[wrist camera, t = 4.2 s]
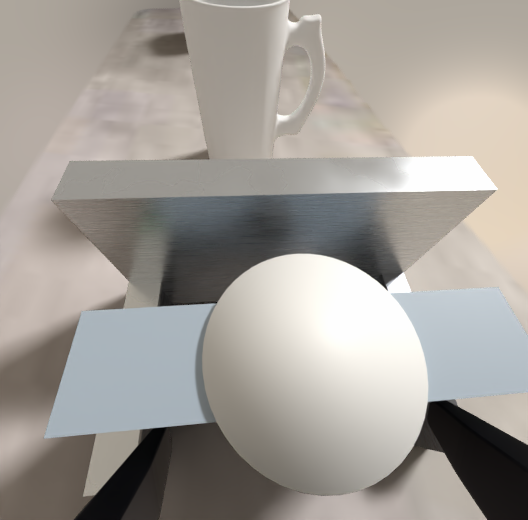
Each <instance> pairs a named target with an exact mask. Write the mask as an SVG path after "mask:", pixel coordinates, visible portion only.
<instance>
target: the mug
mask: <svg viewBox="0 0 528 520" xmlns="http://www.w3.org/2000/svg"><path fill="white" fill-rule="evenodd" d="M179 2H180V8H181V14H182V20H183V26H184V32H185V38H186V43H187V48H188V53H189V58H190V63H191V69H192V74H193V79H194V84H195V89H196V94H197V99H198V105H199V110H200V115H201V120H202V126H203V131H204V136H205V141H206V145H207V150H208V155H209V159H272V156H273V147H274V142H275V140H276V139H277V138H278V137H280V136H284V135H297V134H298V133H299V132H300V130H301V128H302V126H303V125H304V123H305V121H306V119H307V118H308V116H309V114H310V112H311V111H312V109H313V107H314V105H315V103H316V101H317V99H318V97H319V94H320V92H321V88H322V85H323V81H324V75H325V52H324V45H323V40H322V33H321V16H320V15H319V14H315V15H311V16H307V15H305V16H302V18H301V19H300V20H299V21H298V22H296V23H293V22H290V21H289V20H288V11H289V2H290V0H179ZM292 46H300V47H303V48H304V49H305V50H306V51H307V53H308V55H309V59H310V63H311V77H310V82H309V86H308V89H307V92H306V95H305V97H304V99H303V101H302V103H301V104H300V106H299V107H298V108H297V109H296V110H295V111H294V112H293V113H292V114H290V115H287V116H282V115H278V113H277V112H278V102H279V93H280V84H281V76H282V67H283V60H284V55H285V52H286V51H287V49H288V48H290V47H292Z"/></svg>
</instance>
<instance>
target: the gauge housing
mask: <svg viewBox="0 0 528 520" xmlns="http://www.w3.org/2000/svg"><path fill="white" fill-rule="evenodd" d="M496 190H497V188H496V187H495V186H494V184H493V183H492V182H491V181H490V179H489V178H488V177H487V175H486V174H485V173H484V171H483V170H482V169H481V168H480V166H479V165H478V164H477V162H476V161H475V160H474V158H473V157H472V156H459V157H458V156H454V157H371V158H289V159H206V160H124V161H70V162H69V164H68V166H67V168H66V170H65V172H64V174H63V176H62V179H61V181H60V183H59V185H58V187H57V189H56V191H55V193H54V195H53V197H52V201H53V202H54V203H55V205H56V206H57V207H58V208H59V209H60V210H61V211H62V212H63V213H64V214H65V215H66V216H67V217H68V218H69V219H70V220H71V221H72V222H73V223H74V224H75V225H76V226H77V228H78V229H79V230H80V231H81V232H82V233H83V234H84V235H85V236H86V237H87V238H88V239H89V240H90V241H91V242H92V243H93V244H94V245H95V246H96V247H97V248H98V249H99V250H100V252H101V253H102V254H103V255H104V256H105V257H106V258H107V259H108V260H109V261H110V262H111V263H112V264H113V265H114V266H115V267H116V268H117V269H118V270H119V271H120V272H121V273H122V274H123V276H124V277H125V278H126V279H127V280H128V281H129V284H128V289H127V293H126V298H125V303H124V307H123V309H128V308H145V307H162V306H173V304H178V303H196V302H213V301H219V299H220V298H221V296H222V295H223V293H224V292H225V291H226V289H227V288H228V287H229V286H230V285H231V284H232V283H233V282H234V281H235V280H236V279H237V278H238V277H239V276H241V275H242V274H243V273H244V272H246V271H247V270H249V269H250V268H252V267H253V266H255V265H257V264H259V263H261V262H263V261H266V260H269V259H272V258H275V257H279V256H283V255H290V254H315V255H323V256H327V257H331V258H335V259H338V260H340V261H343V262H346V263H348V264H350V265H352V266H354V267H356V268H358V269H360V270H361V271H363V272H365V273H366V274H368V275H369V276H371V277H372V278H373V279H375V280H376V281H377V282H379V283H380V284H381V285H382V286H383V287H384V288H385V289H386V290H387V291H388V292H389V293H404V292H411V290H410V288H409V286H408V283H407V281H406V278H405V276H404V272H405V271H406V270H407V269H408V268H409V267H410V266H412V265H413V264H414V263H415V262H416V261H417V260H418V259H419V258H421V257H422V256H423V255H424V254H425V253H426V252H427V251H429V250H430V249H431V248H432V247H433V246H434V245H435V244H436V243H438V242H439V241H440V240H441V239H442V238H443V237H444V236H445V235H447V234H448V233H449V232H450V231H451V230H452V229H453V228H454V227H456V226H457V225H458V224H459V223H460V222H461V221H462V220H464V219H465V218H466V217H467V216H468V215H469V214H470V213H471V212H472V211H474V210H475V209H476V208H477V207H478V206H479V205H480V204H482V203H483V202H484V201H485V200H486V199H487V198H488V197H489V196H491V195H492V194H493V193H494V192H495V191H496ZM447 401H449V402H451V403H452V404H454V405H456V406H458V405H457V403H456V400H455V399H452V400H447ZM428 407H429V402H428V403H427V409H426V414H425V419H424V422H423V425H422V428H421V431H420V434H419V436H418V438H417V440H416V442H415V444H414V446H417V447H422V448H426V449H430V450H435V451H439V452H443V453H444V451H443V449H442V448H441V446H440V444H439V442H438V441H437V439H436V437H435V435H434V434H433V432H432V430H431V428H430V427H429V425H428V422H427V413H428ZM152 429H153V428H149V429H139V430H128V431H118V432H107V433H97V434H96V437H95V442H94V447H93V451H92V456H91V461H90V465H89V470H88V474H87V479H86V484H85V488H84V493H83V497H84V496H92V495H96V493H97V492H98V491H99V490H100V489H101V488H102V487H103V485H104V484H105V483H106V482H107V481H108V480H109V478H110V477H111V476H112V475H113V474H114V473H115V471H116V470H117V469H118V468H119V467H120V466H121V464H122V463H123V462H124V461H125V460H126V459H127V458H128V456H129V455H130V454H131V453H132V452H133V451H134V449H135V448H136V447H137V446H138V445H139V444H140V442H141V441H142V440H143V439H144V438H145V437H146V436H147V434H148V433H149V432H150V431H151V430H152Z"/></svg>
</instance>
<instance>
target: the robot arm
mask: <svg viewBox="0 0 528 520" xmlns="http://www.w3.org/2000/svg"><path fill="white" fill-rule="evenodd" d="M427 422H428V425H429V427H430V428H431V430H432V432H433V434H434V435H435V437H436V439H437V441H438V442H439V444H440V446H441V448H442V449H443V451H444V453H445V455H446V456H447V458H448V460H449V462H450V463H451V465H452V467H453V469H454V470H455V472H456V474H457V475H458V477H459V478H460V480H461V481H462V483H463V484H464V486H465V487H466V489H467V490H468V492H469V493H470V495H471V496H472V498H473V499H474V501H475V502H476V504H477V505H478V507H479V508H480V510H481V511H482V513H483V514H484V516H485V517H486V519H487V520H528V445H527V444H525V443H523V442H521V441H519V440H518V439H516V438H514V437H512V436H510V435H509V434H507V433H505V432H503V431H501V430H499V429H498V428H496V427H494V426H492V425H490V424H489V423H487V422H485V421H483V420H481V419H480V418H478V417H476V416H474V415H472V414H471V413H469V412H467V411H465V410H463V409H461V408H460V407H458V406H456V405H454V404H452V403H451V402H449V401H447V400H441V401H431V402H429V407H428V413H427ZM171 451H172V442H171V435H170V429H169V427H160V428H153V429H152V430H151V431H150V432H149V433H148V434H147V436H146V437H145V438H144V439H143V440H142V441H141V442H140V444H139V445H138V446H137V447H136V448H135V449H134V451H133V452H132V453H131V454H130V455H129V456H128V458H127V459H126V460H125V461H124V462H123V463H122V464H121V466H120V467H119V468H118V469H117V470H116V471H115V473H114V474H113V475H112V476H111V477H110V478H109V480H108V481H107V482H106V483H105V484H104V485H103V487H102V488H101V489H100V490H99V491H98V492H97V493H96V495H95V496H94V497H93V498H92V499H91V500H90V502H89V503H88V504H87V505H86V506H85V507H84V509H83V510H82V511H81V512H80V513H79V514H78V515H77V517H76V518H75V519H74V520H159V516H160V512H161V506H162V501H163V496H164V490H165V485H166V479H167V473H168V468H169V462H170V457H171Z"/></svg>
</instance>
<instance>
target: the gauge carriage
mask: <svg viewBox="0 0 528 520" xmlns="http://www.w3.org/2000/svg"><path fill="white" fill-rule="evenodd" d="M525 392H528V335H527V334H526V332H525V330H524V329H523V327H522V325H521V324H520V322H519V320H518V319H517V317H516V315H515V314H514V312H513V310H512V309H511V307H510V306H509V304H508V302H507V301H506V299H505V297H504V296H503V294H502V292H501V291H500V289H499V287H490V288H472V289H455V290H438V291H421V292H404V293H389V292H388V291H387V290H386V289H385V288H384V287H383V286H382V285H381V284H380V283H379V282H377V281H376V280H375V279H373V278H372V277H371V276H369V275H368V274H366V273H365V272H363V271H361V270H360V269H358V268H356V267H354V266H352V265H350V264H348V263H346V262H343V261H340V260H338V259H335V258H331V257H327V256H323V255H315V254H290V255H283V256H279V257H275V258H272V259H269V260H266V261H263V262H261V263H259V264H257V265H255V266H253V267H252V268H250V269H249V270H247V271H246V272H244V273H243V274H242V275H241V276H239V277H238V278H237V279H236V280H235V281H234V282H233V283H232V284H231V285H230V286H229V287H228V288H227V289H226V291H225V292H224V293H223V295H222V296H221V298H220V299H219V301H218V302H217V303H214V304H197V305H179V306H162V307H145V308H128V309H110V310H93V311H82V313H81V316H80V319H79V323H78V326H77V329H76V333H75V336H74V339H73V343H72V346H71V349H70V353H69V356H68V359H67V362H66V366H65V369H64V372H63V376H62V379H61V382H60V386H59V389H58V392H57V396H56V399H55V402H54V406H53V409H52V412H51V416H50V419H49V422H48V426H47V429H46V432H45V436H44V439H45V438H55V437H66V436H76V435H87V434H97V433H107V432H118V431H128V430H139V429H149V428H160V427H170V426H181V425H191V424H201V423H212V422H217V424H218V425H219V427H220V429H221V431H222V432H223V434H224V436H225V437H226V439H227V440H228V442H229V443H230V444H231V445H232V447H233V448H234V449H235V450H236V452H237V453H238V454H239V455H240V456H241V457H242V458H243V459H244V460H245V461H246V462H247V463H248V464H249V465H250V466H251V467H253V468H254V469H255V470H257V471H258V472H260V473H261V474H262V475H264V476H265V477H266V478H268V479H270V480H272V481H274V482H276V483H278V484H280V485H282V486H284V487H286V488H289V489H292V490H295V491H298V492H302V493H306V494H313V495H320V496H330V495H343V494H348V493H353V492H357V491H360V490H362V489H365V488H367V487H370V486H372V485H374V484H376V483H377V482H379V481H380V480H382V479H383V478H385V477H387V476H388V475H389V474H390V473H391V472H393V471H394V470H395V469H396V468H397V467H398V466H399V465H400V464H401V463H402V462H403V460H404V459H405V458H406V456H407V455H408V454H409V452H410V451H411V450H412V448H413V446H414V444H415V442H416V440H417V438H418V436H419V434H420V431H421V428H422V425H423V422H424V419H425V414H426V409H427V403H428V402H431V401H441V400H452V399H462V398H473V397H483V396H494V395H504V394H514V393H525Z"/></svg>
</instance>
